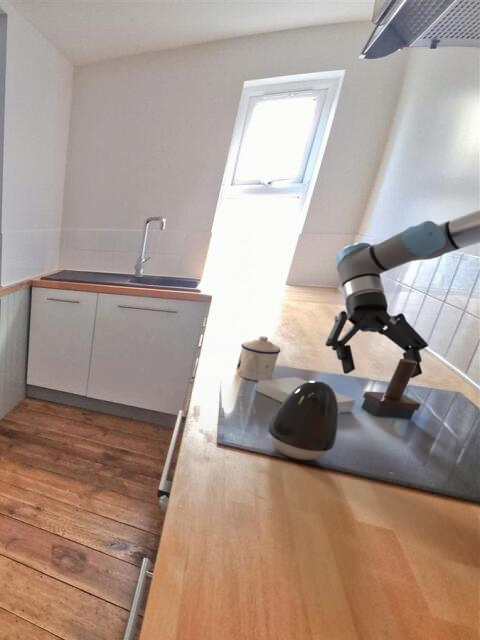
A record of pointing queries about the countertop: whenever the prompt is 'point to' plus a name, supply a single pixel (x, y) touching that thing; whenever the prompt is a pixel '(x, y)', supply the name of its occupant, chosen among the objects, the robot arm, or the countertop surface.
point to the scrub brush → (393, 395)
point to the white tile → (285, 386)
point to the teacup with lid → (257, 359)
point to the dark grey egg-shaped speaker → (306, 422)
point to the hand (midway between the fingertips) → (382, 373)
